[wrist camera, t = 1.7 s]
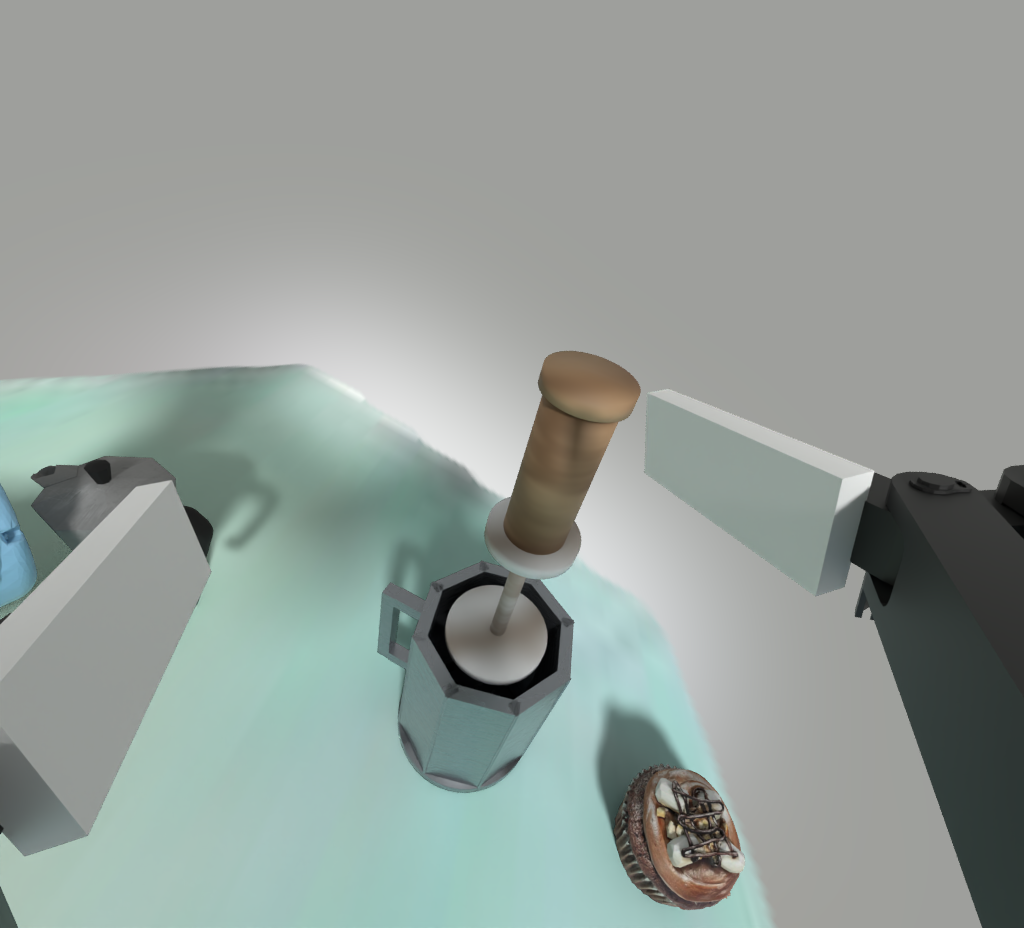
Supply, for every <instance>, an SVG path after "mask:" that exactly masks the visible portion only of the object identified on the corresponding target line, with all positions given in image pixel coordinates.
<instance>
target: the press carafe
mask: <svg viewBox="0 0 1024 928" xmlns="http://www.w3.org/2000/svg"><path fill="white" fill-rule="evenodd" d="M509 572H510V571H509V570H507V569H506V568H504V567H502V566H498V565H495V564H491V563H487V562H484V561H481V562H479V563H477V564H475V565H472V566H470V567H468V568H465V569H463V570H461V571H458V572H456V573H454V574H451V575H449V576H447V577H444V578H442V579H440V580H437V581H435V582H432V583H431V585H430V590H429V593H428V596H427V598H426V601H425V600H423V599H421V598H420V597H418V596H416V595H414V594H412V593H410V592H409V591H407V590H405V589H403V588H400V587H398V586H396V585H394V584H393V583H390V584H389V585H388V586H387V587H386V589H385V590H384V591H383V592H382V601H381V613H380V626H379V638H378V651H377V652H378V653H379V654H381V655H383V656H385V657H386V658H388V659H389V660H390V661H392V662H394V663H396V664H397V665H399V666H401V667H402V668H404V669H406V675H405V681H404V687H403V693H402V697H401V701H400V706H399V712H398V731H399V738H400V742H401V745H402V748H403V750H404V753H405V755H406V757H407V758H408V760H409V762H410V763H411V765H412V766H413V767H414V769H415V770H416V771H417V772H418V773H419V774H420V775H421V776H422V777H423V778H424V779H426V780H427V781H429V782H430V783H432V784H433V785H435V786H437V787H439V788H442V789H445V790H448V791H453V792H462V793H468V792H476V791H480V790H483V789H486V788H489V787H491V786H493V785H495V784H496V783H498V782H499V781H501V780H502V779H503V778H505V777H506V776H507V775H508V774H509V773H510V772H511V771H512V770H513V768H514V767H515V766H516V764H517V763H518V761H519V760H520V758H521V757H522V756H523V754H524V753H525V751H526V750H527V748H528V746H529V745H530V743H531V742H532V740H533V739H534V737H535V735H536V734H537V732H538V731H539V729H540V728H541V726H542V724H543V723H544V721H545V720H546V718H547V717H548V715H549V713H550V712H551V710H552V709H553V707H554V706H555V704H556V703H557V701H558V699H559V698H560V696H561V695H562V693H563V692H564V690H565V688H566V687H567V685H568V684H569V682H570V680H571V678H570V674H571V657H572V640H573V624H574V623H575V622H574V620H572V619H571V617H570V616H569V615H568V614H567V612H566V611H565V610H564V609H563V608H562V606H561V605H560V604H559V603H558V601H557V600H556V599H555V598H554V596H553V595H552V594H551V593H550V591H549V590H548V589H547V588H546V586H545V585H544V584H543V583H542V582H541V580H540V579H530V578H526V579H525V582H524V584H523V587H522V589H521V592H520V593H521V594H522V595H524V596H525V597H527V598H528V599H529V600H530V601H531V602H532V603H533V604H534V605H535V606H536V607H537V609H538V610H539V612H540V613H541V615H542V617H543V619H544V622H545V624H546V629H547V646H546V650H545V653H544V655H543V657H542V659H541V661H540V663H539V665H538V666H537V668H536V669H535V670H534V671H533V672H532V673H531V674H530V675H529V676H528V677H526V678H525V679H523V680H521V681H519V682H516V683H513V684H509V685H490V684H485V683H483V682H480V681H477V680H475V679H473V678H471V677H470V676H468V675H467V674H465V673H464V672H463V671H462V670H461V669H460V668H459V667H458V666H457V665H456V664H455V662H454V661H453V659H452V658H451V656H450V654H449V652H448V649H447V646H446V642H445V625H446V621H447V617H448V614H449V611H450V609H451V607H452V605H453V604H454V603H455V601H456V600H457V599H458V598H459V597H460V596H461V595H463V594H464V593H465V592H467V591H469V590H471V589H473V588H476V587H480V586H486V585H497V586H503V587H504V586H505V583H506V580H507V578H508V575H509ZM400 611H402V612H404V613H406V614H408V615H409V616H411V617H413V618H415V619H416V620H418V623H417V626H416V629H415V632H414V635H413V636H412V638H411V644H410V650H408V649H406V648H404V647H403V646H401V645H399V644H397V643H396V637H397V629H398V621H399V613H400Z"/></svg>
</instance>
